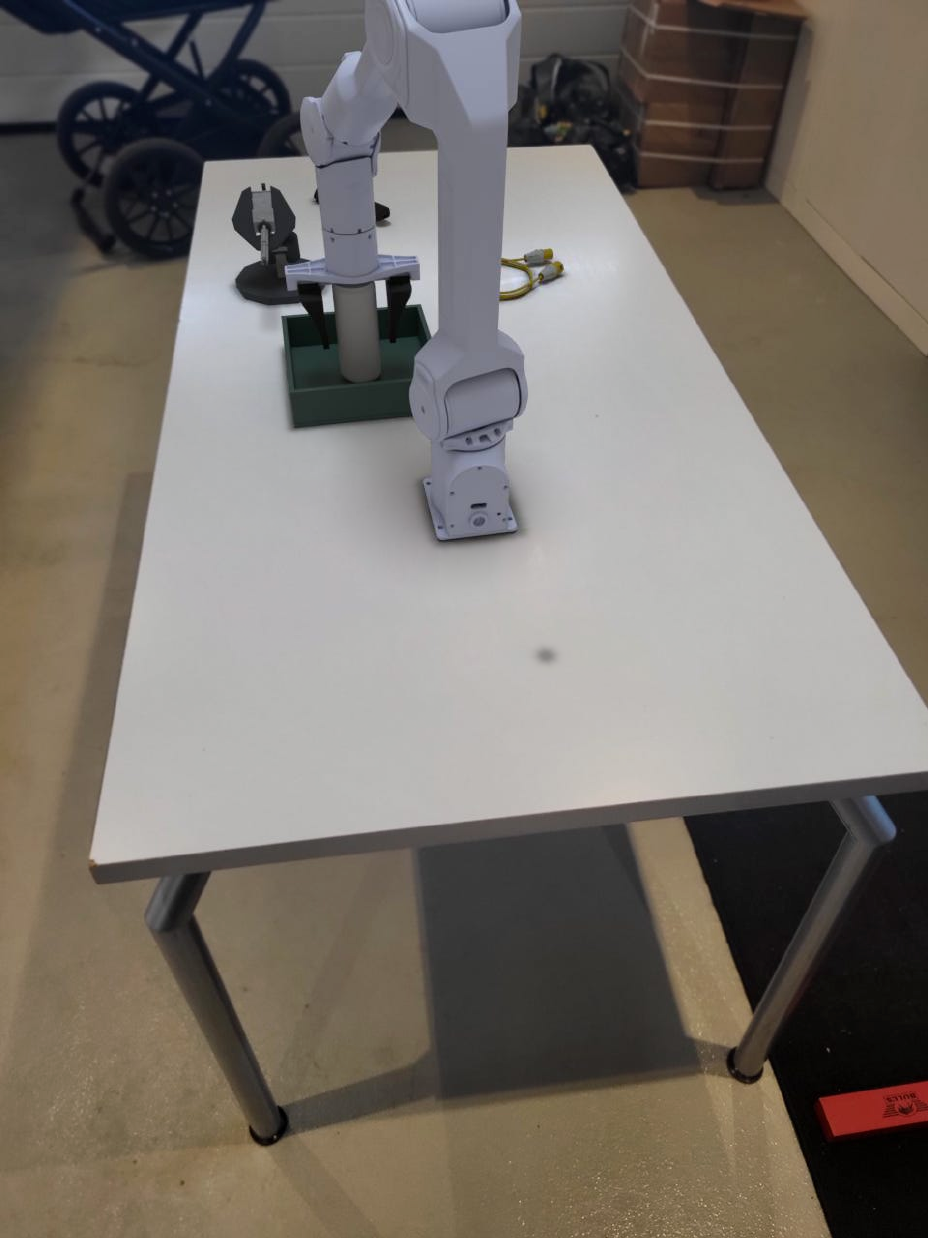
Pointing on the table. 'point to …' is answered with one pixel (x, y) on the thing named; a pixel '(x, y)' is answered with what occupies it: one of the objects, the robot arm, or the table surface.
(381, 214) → the electric trimmer
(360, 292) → the beverage can
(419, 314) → the open storage bin
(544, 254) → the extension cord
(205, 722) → the table surface
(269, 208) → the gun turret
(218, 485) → the table surface
